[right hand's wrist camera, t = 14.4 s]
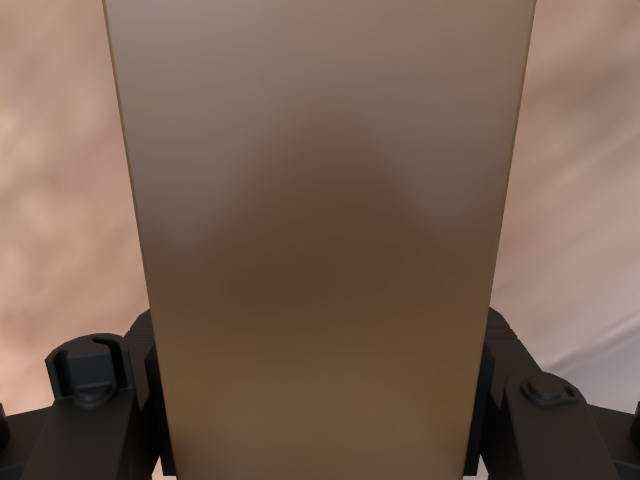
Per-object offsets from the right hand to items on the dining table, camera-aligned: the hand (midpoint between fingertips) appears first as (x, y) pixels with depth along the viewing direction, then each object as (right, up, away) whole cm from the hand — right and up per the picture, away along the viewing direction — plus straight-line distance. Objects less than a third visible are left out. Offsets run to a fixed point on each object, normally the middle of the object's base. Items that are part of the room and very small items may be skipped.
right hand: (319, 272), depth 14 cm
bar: (0, +9, -3) cm, 10 cm away
